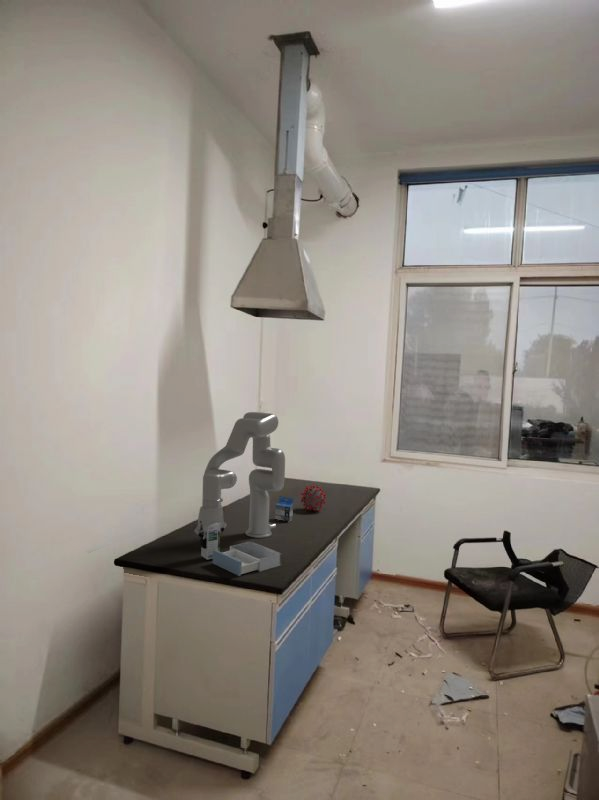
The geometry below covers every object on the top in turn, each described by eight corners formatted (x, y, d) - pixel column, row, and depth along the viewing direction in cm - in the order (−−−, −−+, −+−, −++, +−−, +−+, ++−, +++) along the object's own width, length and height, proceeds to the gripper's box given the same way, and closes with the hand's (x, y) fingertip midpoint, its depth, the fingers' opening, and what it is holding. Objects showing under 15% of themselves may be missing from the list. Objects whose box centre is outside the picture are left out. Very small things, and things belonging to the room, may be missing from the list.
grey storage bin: (250, 552, 220) (250, 541, 220) (280, 565, 206) (281, 553, 206) (229, 558, 212) (229, 546, 212) (259, 571, 198) (260, 559, 198)
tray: (235, 557, 212) (235, 544, 212) (261, 569, 200) (262, 555, 200) (212, 563, 204) (213, 549, 204) (239, 576, 192) (239, 561, 192)
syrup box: (207, 560, 207) (207, 524, 206) (200, 555, 212) (201, 521, 211) (219, 557, 210) (220, 522, 210) (213, 553, 215) (214, 519, 214)
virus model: (325, 508, 304) (327, 483, 303) (324, 515, 289) (325, 488, 288) (301, 507, 305) (302, 482, 305) (299, 513, 290) (300, 487, 290)
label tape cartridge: (274, 519, 274) (275, 497, 274) (278, 518, 277) (279, 495, 277) (289, 522, 270) (290, 499, 269) (292, 521, 273) (293, 498, 273)
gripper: (223, 498, 219) (222, 539, 220) (188, 504, 206) (187, 548, 207) (233, 501, 213) (232, 543, 214) (198, 508, 201) (197, 553, 202)
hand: (210, 545), depth 211 cm, fingers closed on syrup box, 6 cm apart
